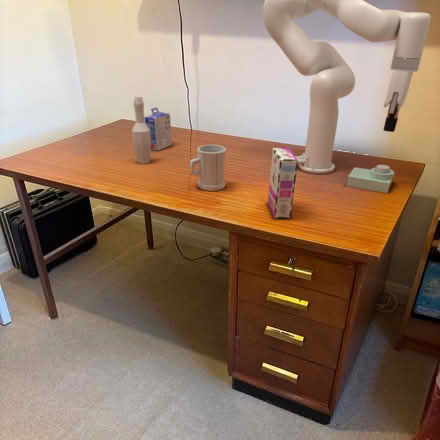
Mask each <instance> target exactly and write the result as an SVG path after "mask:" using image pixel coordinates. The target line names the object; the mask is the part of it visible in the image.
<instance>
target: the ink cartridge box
mask: <svg viewBox="0 0 440 440" xmlns="http://www.w3.org/2000/svg"><path fill="white" fill-rule="evenodd" d="M150 111H151V113H152V114H150V115H147V116H144V122H145V123H146V125H147V126H148V127H149V129H150V135H151V151H155V152H157V151H160V150H162V149H166V148H169V147H170V146H172V145H173V137H172V135H173V134H172V124H171V123H172V121H171V113H168V112H163V111H160V110H159V109H158V107H152V108H150Z"/></svg>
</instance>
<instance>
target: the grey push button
mask: <svg viewBox="0 0 440 440" xmlns="http://www.w3.org/2000/svg"><path fill="white" fill-rule="evenodd" d="M375 167H376V172H378V173H389V169H390V170H391V168H390V166H389V165H387V164H377V165H376V166H375Z"/></svg>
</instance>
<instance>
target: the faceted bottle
mask: <svg viewBox="0 0 440 440" xmlns="http://www.w3.org/2000/svg"><path fill="white" fill-rule="evenodd" d="M133 108H134V115H135V123H134V124H133V127H132V129H131V137H132V144H133V149H134V153H135V157H136V162H137V163H138V164H142V165H145V164H149V163H150V162H151V152H152V150H151V135H150V129H149V127H148V126H147V125H146V123H145V118H144V117H145V102H144V99H143V97H142V96H141V95H136V96H134V97H133Z"/></svg>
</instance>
